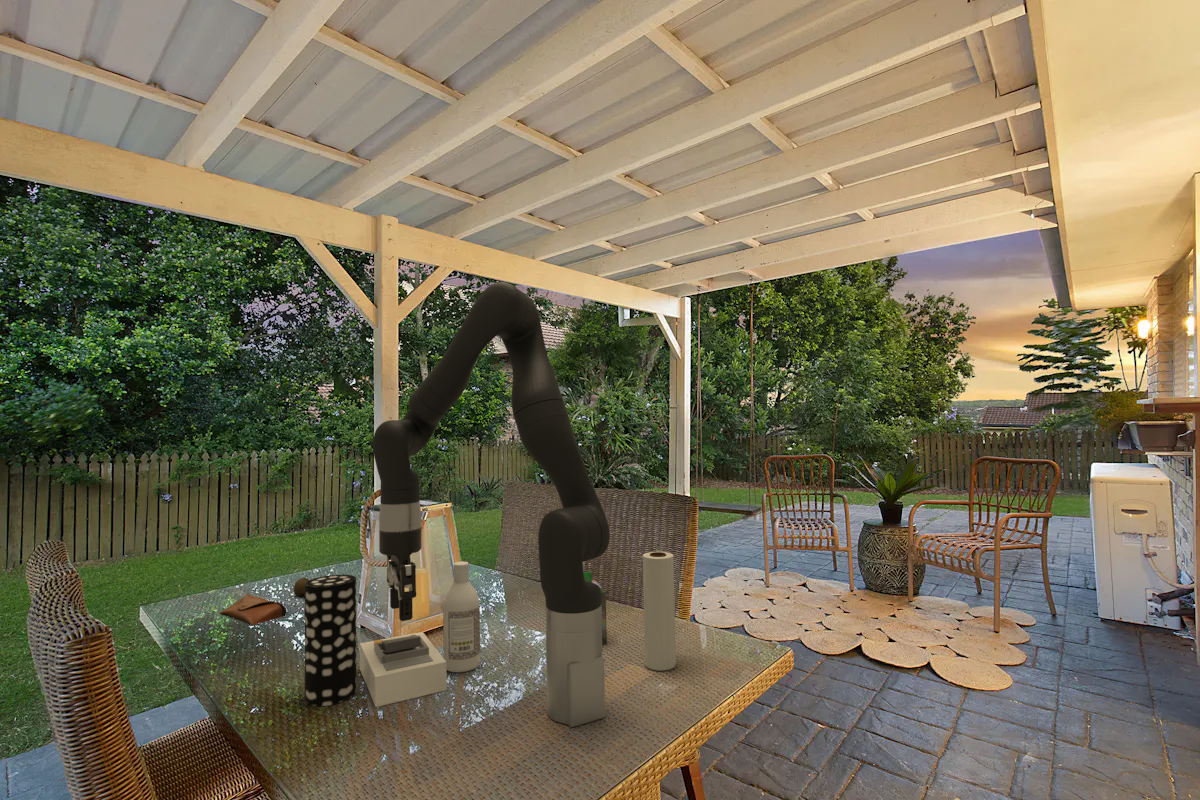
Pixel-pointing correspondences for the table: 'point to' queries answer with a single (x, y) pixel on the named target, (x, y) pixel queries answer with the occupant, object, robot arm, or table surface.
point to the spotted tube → (330, 639)
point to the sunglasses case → (255, 610)
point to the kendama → (300, 587)
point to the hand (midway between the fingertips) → (401, 613)
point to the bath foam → (461, 623)
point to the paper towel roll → (659, 610)
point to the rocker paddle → (401, 643)
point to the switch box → (402, 671)
